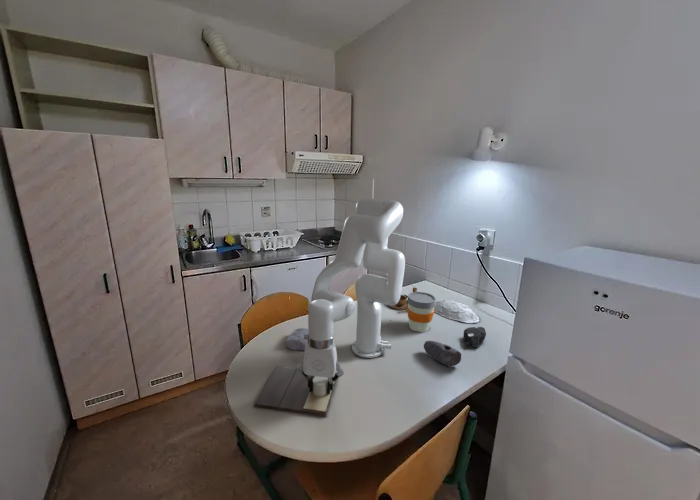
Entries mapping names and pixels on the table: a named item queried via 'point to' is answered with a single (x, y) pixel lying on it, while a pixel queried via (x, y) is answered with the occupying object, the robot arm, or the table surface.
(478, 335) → the mineral
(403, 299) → the place setting
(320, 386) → the white short cylinder
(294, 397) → the board
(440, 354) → the perforated stone tool
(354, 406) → the table surface
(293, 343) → the block
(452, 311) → the white rough oval lump
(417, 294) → the reusable coffee cup
